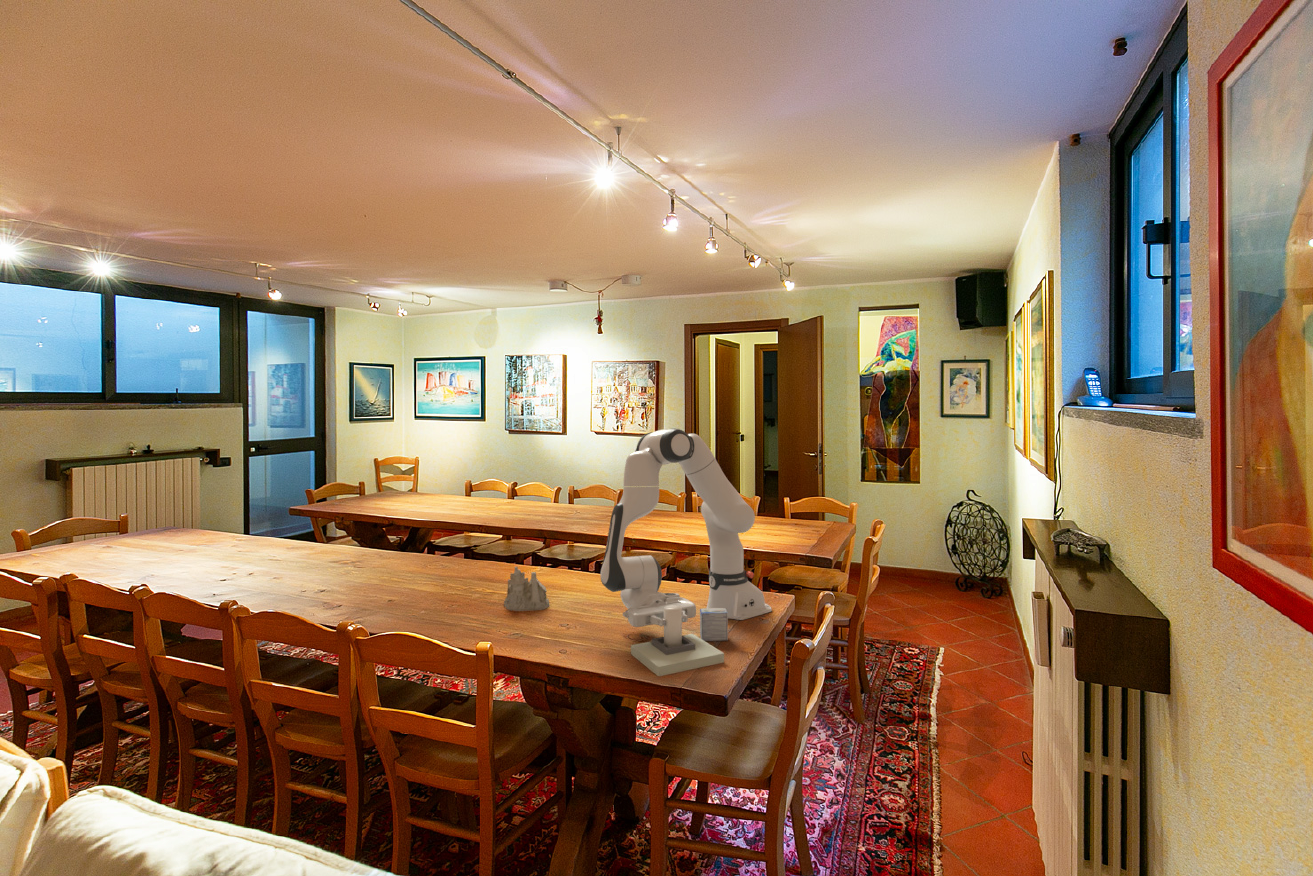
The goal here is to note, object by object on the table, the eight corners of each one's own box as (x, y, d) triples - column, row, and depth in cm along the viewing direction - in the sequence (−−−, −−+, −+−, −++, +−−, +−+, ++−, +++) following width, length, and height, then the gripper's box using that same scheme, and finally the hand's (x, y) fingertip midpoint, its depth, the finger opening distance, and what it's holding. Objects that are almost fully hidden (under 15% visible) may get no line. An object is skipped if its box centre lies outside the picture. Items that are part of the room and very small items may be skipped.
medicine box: (725, 635, 195) (725, 607, 195) (728, 641, 191) (728, 612, 190) (699, 636, 195) (699, 608, 195) (701, 641, 191) (701, 612, 190)
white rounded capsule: (676, 642, 183) (676, 604, 183) (685, 648, 179) (684, 609, 178) (660, 645, 181) (660, 606, 180) (669, 651, 176) (668, 612, 176)
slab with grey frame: (692, 642, 190) (692, 628, 190) (724, 662, 175) (724, 647, 175) (630, 654, 181) (630, 640, 181) (658, 676, 166) (658, 661, 166)
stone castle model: (547, 610, 220) (545, 566, 220) (498, 612, 220) (497, 568, 220) (554, 599, 235) (552, 558, 236) (509, 601, 235) (507, 560, 235)
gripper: (619, 601, 186) (640, 615, 174) (682, 592, 195) (705, 604, 183) (620, 623, 186) (640, 638, 174) (682, 612, 196) (705, 626, 183)
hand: (674, 621), depth 179 cm, fingers open, 5 cm apart
